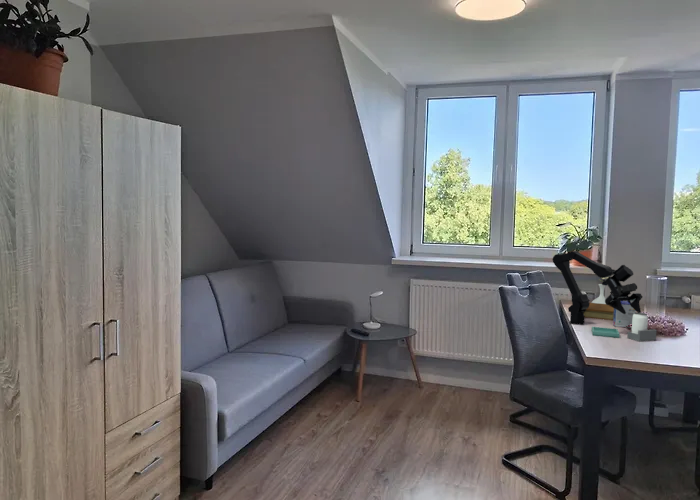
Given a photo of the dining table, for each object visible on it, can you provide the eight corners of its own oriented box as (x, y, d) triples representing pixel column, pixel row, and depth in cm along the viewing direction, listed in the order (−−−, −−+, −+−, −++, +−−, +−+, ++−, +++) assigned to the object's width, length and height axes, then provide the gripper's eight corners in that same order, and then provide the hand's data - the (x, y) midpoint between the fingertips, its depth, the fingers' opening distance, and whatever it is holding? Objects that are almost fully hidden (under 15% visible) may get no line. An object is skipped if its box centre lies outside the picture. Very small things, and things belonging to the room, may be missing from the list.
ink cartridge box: (632, 325, 284) (634, 298, 283) (635, 328, 279) (637, 300, 278) (612, 324, 286) (613, 297, 285) (615, 326, 281) (616, 299, 280)
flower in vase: (587, 304, 345) (589, 266, 343) (602, 304, 348) (605, 265, 346) (601, 308, 332) (603, 268, 330) (617, 308, 335) (619, 268, 333)
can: (645, 337, 258) (646, 312, 257) (647, 340, 252) (649, 315, 251) (630, 336, 260) (631, 311, 259) (632, 339, 254) (634, 314, 253)
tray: (592, 335, 260) (592, 331, 260) (591, 330, 271) (591, 326, 271) (619, 338, 256) (619, 334, 256) (617, 332, 267) (617, 329, 266)
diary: (582, 311, 325) (583, 302, 324) (617, 314, 317) (618, 305, 316) (581, 318, 304) (582, 307, 304) (618, 321, 296) (619, 311, 296)
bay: (627, 337, 257) (627, 327, 256) (643, 336, 260) (644, 326, 259) (639, 341, 250) (639, 331, 250) (655, 340, 253) (656, 329, 253)
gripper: (610, 277, 260) (627, 304, 251) (640, 277, 266) (658, 302, 257) (597, 291, 269) (613, 317, 259) (627, 290, 274) (643, 316, 265)
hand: (632, 313), depth 260 cm, fingers open, 9 cm apart
